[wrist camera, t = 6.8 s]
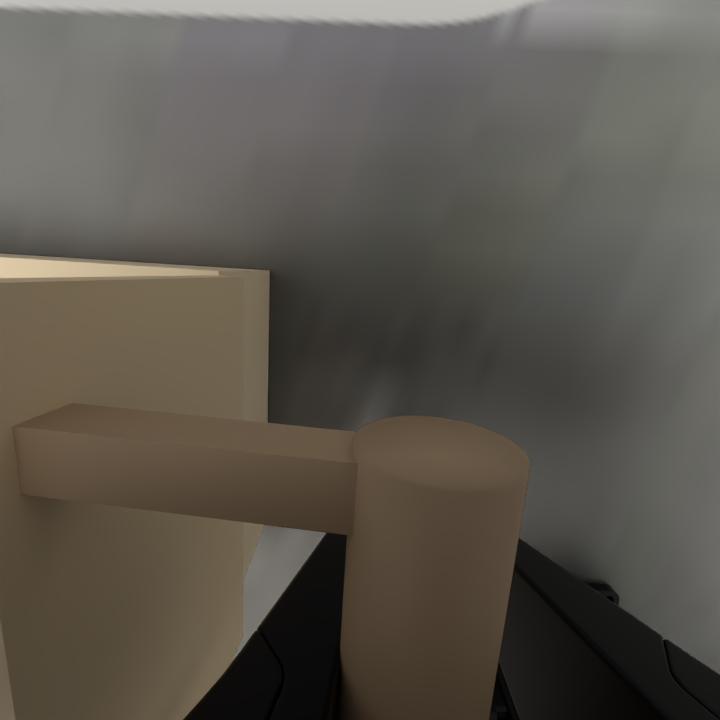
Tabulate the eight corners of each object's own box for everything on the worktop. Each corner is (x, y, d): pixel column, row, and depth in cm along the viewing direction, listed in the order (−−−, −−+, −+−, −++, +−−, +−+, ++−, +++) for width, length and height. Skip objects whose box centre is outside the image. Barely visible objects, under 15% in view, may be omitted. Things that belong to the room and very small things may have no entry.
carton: (269, 270, 16) (209, 270, 10) (266, 520, 19) (215, 655, 12) (-92, 247, 16) (-401, 232, 9) (-49, 502, 18) (-273, 630, 12)
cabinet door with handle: (220, 275, 10) (463, 291, 10) (224, 633, 13) (420, 663, 12) (-123, 280, 4) (589, 333, 3) (19, 1040, 6) (439, 1151, 5)
